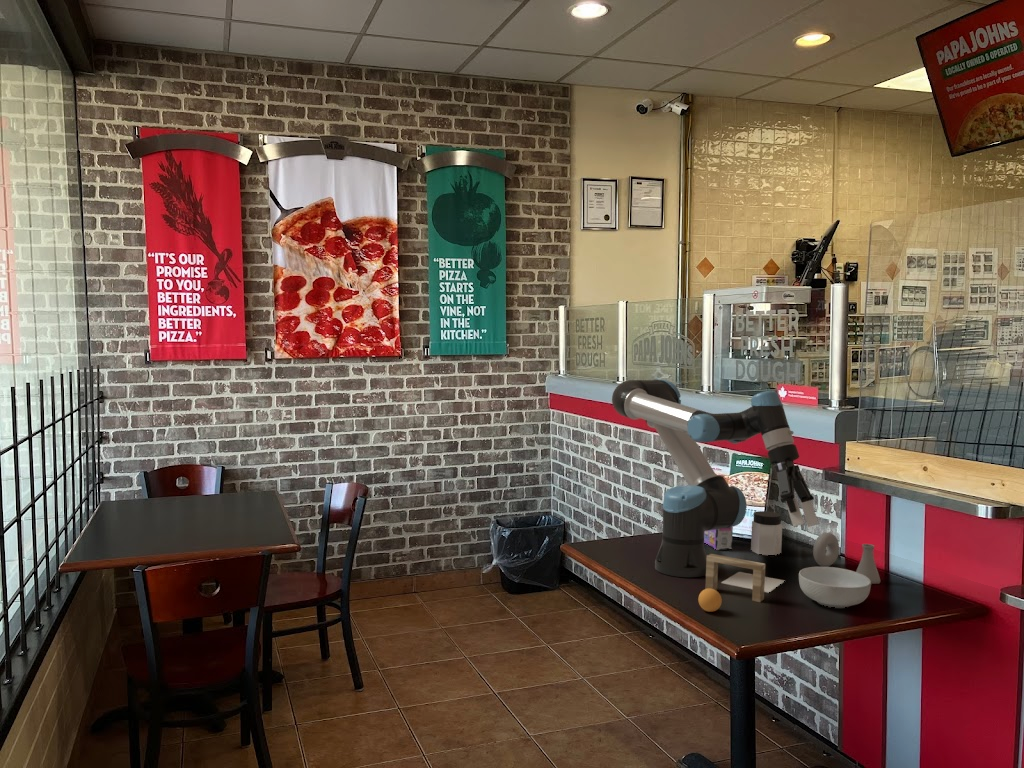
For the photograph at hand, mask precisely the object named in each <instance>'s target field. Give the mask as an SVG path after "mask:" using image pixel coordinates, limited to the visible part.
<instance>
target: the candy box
mask: <svg viewBox="0 0 1024 768" xmlns="http://www.w3.org/2000/svg"><path fill="white" fill-rule="evenodd" d="M733 527H734V526H733ZM733 527H730V528H727V529H724V528H723V529H716V530H709V531H704V543H706V544H708V545H709V546H711V547H713V548H714V550H715V549H716V550H715V551H728V550H727V549H732V550H733V534H734V533H733V529H734V528H733ZM706 544H705V545H706ZM708 545H707V546H708ZM709 546H708V547H709ZM711 547H710V548H711ZM713 548H712V549H713Z"/></svg>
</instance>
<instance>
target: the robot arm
mask: <svg viewBox="0 0 1024 768" xmlns="http://www.w3.org/2000/svg"><path fill="white" fill-rule="evenodd" d="M680 393H681V392H680V391H679V389H678V387H677V386H676V384H674V383H673V382H672V381H669V380H667V379H661V378H655V379H630V380H625V381H622V382H621V383H620V384H618V385H617V386H616V387H615V388H614V389H613V393H612V395H611V396H612V397H611V403H612V406H613V408H614V410H615V412H616V413H617V414H618V415H621V416H622V417H624V418H628V419H631V420H640V419H641V420H644V421H645V422H646V424H647V425H646V426H648V427H649V428H652V429H655V431H656V433H658V436H659V437H660V439H661V440H662V443H663V444H664V446H665V448H666V449H667V451H668V453H669V455H671V458H672V459H673V461H674V462H675V464H676V467H677V468H678V470H679V472H680V473H681V475H682V476H683V478H684V481H685V482H686V483H687V485H677V486H673V487H670V488H669V489H667V490H666V491H665V492H664V494H663V502H662V530H661V531H662V535H661V536H662V537H661V544H660V547H659V549H658V552H657V554H656V557H655V561H654V569H655V570H656V571H657V572H659V573H661V574H664V575H667V576H672V577H679V578H699V577H704V576H705V577H706V559H707V556H708V554H707V550H706V547H705V544H704V531H709V530H716V529H723V528H724V529H727V528H730V527H737V526H738V525H739V524H741V523H742V522H743V520H744V519H745V517H746V513H747V499H746V496H745V494H744V492H743V491H742V490H741V489H740V488H738V487H736V486H733V485H731V486H730V485H729V484H728V482H727V481H726V478H724V476H723V475H720V474H717V473H715V471H714V469H713V468H712V466H711V464H710V462H709V461H708V459H707V458H706V456H705V454H704V453H703V451H702V449H701V448H700V446H699V445H698V443H713V442H724V441H725V442H726V441H727V442H729V443H731V444H734V445H735V444H739V443H742V442H743V443H744V442H745V441H747V440H749V439H751V438H753V437H755V436H757V435H759V434H761V437H762V441H763V444H764V448H765V450H766V451H768V452H767V456H768V459H769V463H770V465H772V466H774V467H775V471H776V475H777V482H778V487H779V494H780V502H782V503H783V502H785V505H786V508H787V511H788V514H789V515H788V516H789V518H790V520H791V524H792V526H793V527H794V528H795V527H797V526H801V525H805V521H806V524H807V527H808V528H809V527H814V526H817V525H819V524H820V523H819V521H818V518H817V514H816V511H815V508H814V505H813V503H812V501H813V500H814V499H815V498H814V496H813V495H812V494H811V491H810V490H809V487H808V485H807V482H806V480H805V478H804V476H803V473H802V472H801V470H800V466H799V464H795V463H794V461H796V460H798V459H799V457H800V453H799V451H798V449H797V446H796V444H794V443H795V440H794V437H793V434H794V431H793V430H791V428H790V425H789V422H788V419H787V416H786V412H785V409H784V404H783V402H782V400H781V398H780V396H779V393H778V392H777V391H775V390H767V391H766V390H764V391H761V392H758V393H756V394H754V395H753V396H752V397H751V398H750V402H751V403H750V405H751V406H750V407H749V408H748V407H747V409H745V410H742V411H740V412H724V413H712V412H707V411H705V410H701V409H698V408H694V407H691V406H689V405H684V404H682V403H681V402H682V399H680V398H681V394H680ZM795 493H796V495H797V497H798V498H799V501H800V506H801V509H802V512H803V515H804V518H805V521H804V518H803V516H802V512H801V509H800V506H799V502H798V499H797V498H795Z"/></svg>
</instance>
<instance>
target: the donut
mask: <svg viewBox="0 0 1024 768" xmlns="http://www.w3.org/2000/svg"><path fill="white" fill-rule="evenodd" d="M812 550H813V558H814V561H815V562H816V563H817V565H819V566H820V567H831V566H832V565H833V564H834V563H835V562H836V560H837V559H838V556H839V553H840V543H839V540H838V538H837V537H836V536H835V535H834V534H833V533H831V532H823V533H821V534H819V535H818V537H816V539H815V542H814V544H813V547H812Z"/></svg>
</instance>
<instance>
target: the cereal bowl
mask: <svg viewBox="0 0 1024 768" xmlns="http://www.w3.org/2000/svg"><path fill="white" fill-rule="evenodd" d="M798 582H799V587H800V589H801V591H802V592H803V594H804V595H805V596H807V598H809V599H811V600H813V601H815V602H817V603H818V604H819V605H820V606H821V605H822V606H823V605H824V606H823V607H826V606H828V607H827V608H831V607H835V608H834V609H846V608H845V607H847V608H849V607H852V606H856V605H859V604H861V603H863V602H864V601H865V600H867V598H868V596H869V595H870V592H871V587H872V584H871V581H870V579H869V578H868V577H866V576H864V575H862V574H860V573H857V572H856V571H854V570H850V569H847V568H840V567H833V566H828V567H823V566H811V567H805V568H802V569H800V570H799V573H798Z"/></svg>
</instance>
